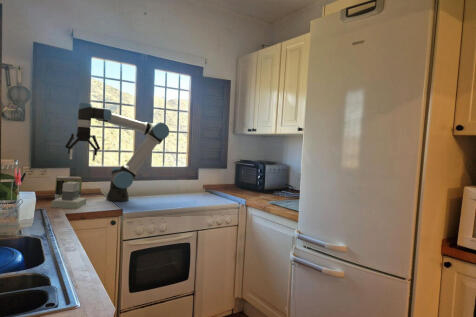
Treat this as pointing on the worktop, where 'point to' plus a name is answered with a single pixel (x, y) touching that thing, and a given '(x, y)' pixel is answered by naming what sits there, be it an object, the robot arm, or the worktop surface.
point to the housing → (70, 191)
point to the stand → (69, 203)
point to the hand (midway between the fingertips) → (82, 159)
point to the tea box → (62, 180)
